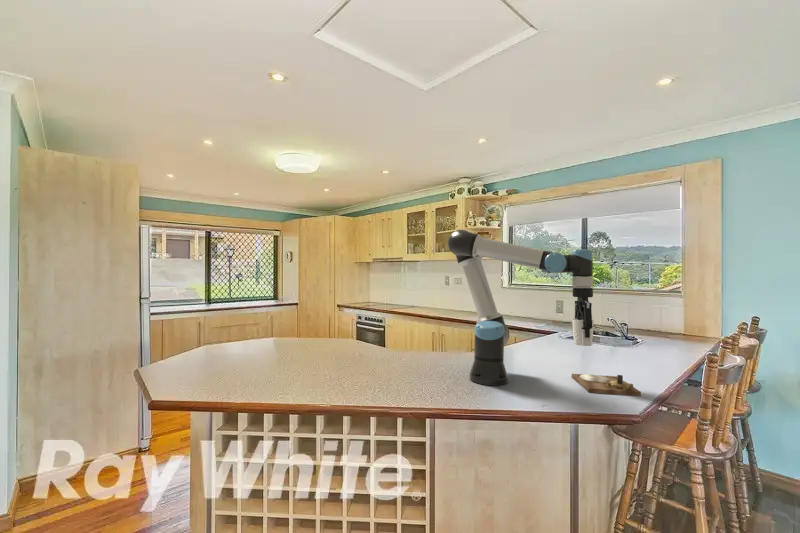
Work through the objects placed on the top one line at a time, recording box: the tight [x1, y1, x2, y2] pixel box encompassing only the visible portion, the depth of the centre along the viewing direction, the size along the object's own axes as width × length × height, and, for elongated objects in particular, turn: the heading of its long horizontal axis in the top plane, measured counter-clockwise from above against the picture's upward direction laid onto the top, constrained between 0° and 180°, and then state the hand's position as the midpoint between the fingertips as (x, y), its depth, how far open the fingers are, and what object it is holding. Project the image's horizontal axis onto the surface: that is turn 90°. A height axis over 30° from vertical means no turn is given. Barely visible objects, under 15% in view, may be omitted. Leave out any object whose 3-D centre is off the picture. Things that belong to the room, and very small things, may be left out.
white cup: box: [571, 318, 594, 347], centre depth 153 cm, size 8×8×10 cm
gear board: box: [571, 373, 642, 397], centre depth 150 cm, size 18×21×6 cm
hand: (583, 343), depth 153 cm, fingers closed on white cup, 7 cm apart
